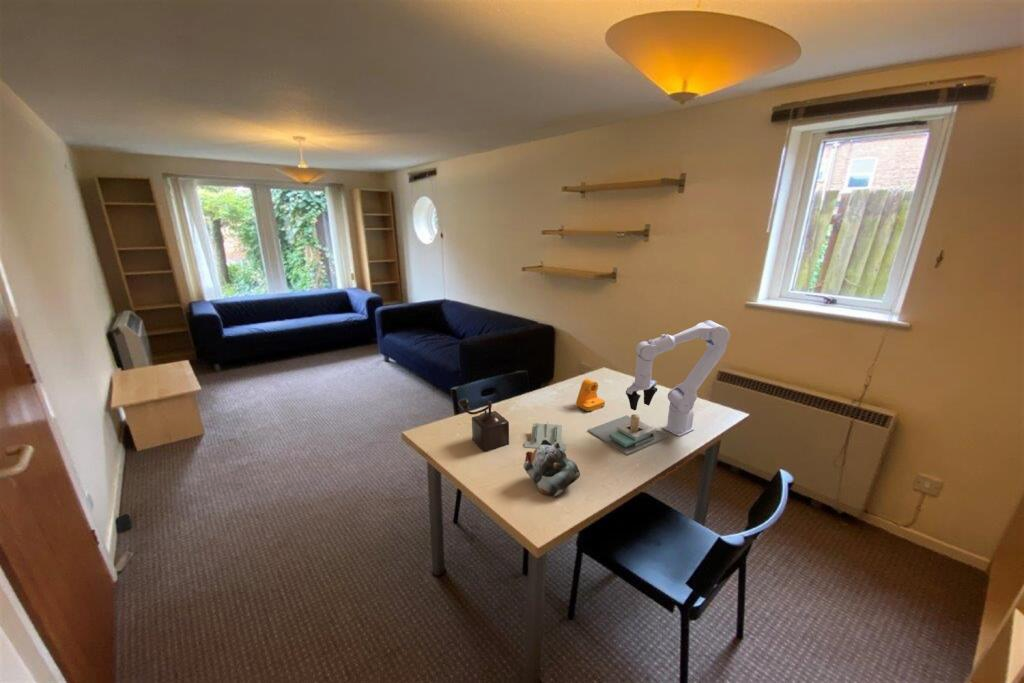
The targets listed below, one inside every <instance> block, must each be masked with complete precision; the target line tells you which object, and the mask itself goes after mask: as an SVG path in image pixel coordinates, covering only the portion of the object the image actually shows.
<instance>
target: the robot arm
mask: <svg viewBox="0 0 1024 683" xmlns="http://www.w3.org/2000/svg"><path fill="white" fill-rule="evenodd" d="M695 339H702V340H704V341H705V343H706V347H707V349H706V350H705V352H704V353H703V354H702V356H701V357H700V359H699V360H698V361H697V363H696V364H695V366H694V367H693V368H692V370H691V371H690V372H689V374H688V375H687V377H686V378H685V380H684V381H683V382H681V383H677V384H676V386H675V387H673V388H672V389H670V390H669V392H668V393H667V399H668V401H669V406H668V412H667V421H666V422H667V424H664V425H663V426H661V428H662V429H663V430H665V431H667V432H670V433H671V434H674V435H675V436H677V437H681V436H683V435H686V434H688V433H689V432H692V431H694V430H695V428H694V427H693V423H694V416H695V414H694V410H693V408H694V405H695V402H696V401H697V399H698V398H697V397H698V396H697V391H698V390H699V388H700V387H701V385H702V384H703V383H704V381H705V380H706V379H707V378H708V376H710V373H711V372H712V371H713V369H714V368H715V367H716V365H717V364H718V363H719V361H720V360H721V358H722V357H723V356H724V354H725V353H726V350H727V346H728V342H729V340H730V339H731V334H730V331H729V329H728V328H727V327H726V326H724V325H721V324H719V323H716V322H715V321H713V320H710V319H709V320H705V321H704V322H703V321H702V322H699V323H698V324H696V325H694V326H692V327H690V328H687V329H685V330H683V331H681V332H678V333H676V334H673V335H670V334H665V333H663V334H661V335H660V336H659V337H656V338H654V339H651V338H650V339H649V340H648V341H645V340H644V341H641V342H639V343H638V344H637V345H636V347H635V348H634V351H635V353H636V360H635V362H636V363H635V372H634V373H635V374H634V380H633V381H632V384H631V385H630V386H629V387H627V388H626V390H625V394H626V396H627V398H628V401H629V407H630V410H632V411H636V410H637V409H638V405H639V400H640V399H641V396H642V395H641V394H639V393H638V392H639V391H643V404H644V405H647V406H650V405H651V402H652V400H653V398H654V395H655V394H656V392H658V387H657V384H658V381H657V380H654V379H652V373H653V372H652V371H653V362H654V359H655V358H656V357H657V356H658V355H660V354H662V353H666V352H670V351H671V350H674V349H675V347H676V345H680V344H682V343H685V342H688V341H692V340H695Z"/></svg>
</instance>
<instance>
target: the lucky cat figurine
mask: <svg viewBox="0 0 1024 683" xmlns="http://www.w3.org/2000/svg"><path fill="white" fill-rule="evenodd" d="M522 466H523V469H524V470H525V472H526V474H527V475H528V476H529V477H530V479H532V481H533V482H534V484H536V486H537V488H538V490H539V492H540V493H541V494H542V495H544V496H548V497H551V498H555V497H556V496H559V495H560V494H562V492H564V490H566V488H568V487H569V486H570V485H572V484H573V483H575V481H577V480H578V479H579V478H580V477H581V472H580V469H579V467H578V464H577V463H576V462H575V461H573V460H572V459H570V458H568V457H567V453H566V451H563V450H562V449H561V448H560V446H559V443H558V442H555V443H554V444H551V443H549V442H548V441H547V440H542V443H541V445H540V446H539V447H538V448H535V450H533V451H526V453H525V460H524V462H523V465H522Z"/></svg>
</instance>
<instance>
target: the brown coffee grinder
mask: <svg viewBox="0 0 1024 683" xmlns="http://www.w3.org/2000/svg"><path fill="white" fill-rule="evenodd" d="M469 404H470V400H469V399H468V398H465V397H462V398H461V399H460V400H458V404H457V405H458V406H459V407H460V408H461V411H462V412H463V413H467V414H469V415H471V416H472V415H473V416H472V417H471V430H472V431H471V436H472V437H471V440H472V442H473V443H474V444H475V445H476V446H477V447H478V448H479V449H480V450H481V451H482V452H484V453H487V452H491V451H494V450H498V449H500V448H503V447H505V446H508V445H510V423H509V420H508V419H506V418H505V417H504V416H502V415H501V414H500V413H498V411H496V410H495V411H492V407H493V405H492V401H491V400H489V401H488V402H487V406H485V407H484V408H482V409H480V410H477V411H470V407H469ZM487 410H488V411H487ZM478 414H479V415H478ZM474 415H475V416H474Z"/></svg>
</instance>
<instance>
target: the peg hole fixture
mask: <svg viewBox="0 0 1024 683" xmlns="http://www.w3.org/2000/svg"><path fill="white" fill-rule="evenodd" d="M630 424H631V422H628V423H626V424H623V425H620V426H618V427H617V430H618V431H616V432H613V433H611V434H609V438H611V439H613V440H614V441H616V442H618V443H620V444H621V445H623V446H625V447H627V446H629V445H632V446H633V447H637V446H639V445H642V444H644V443H646V442H649V441H651V440H653V439H655V431H656V428H654V427H653V426H650V425H648V424H646V423H644V422H643V421H640V420H639V430H638V432H636V433H635V432H633V431H631V430H630Z"/></svg>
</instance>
